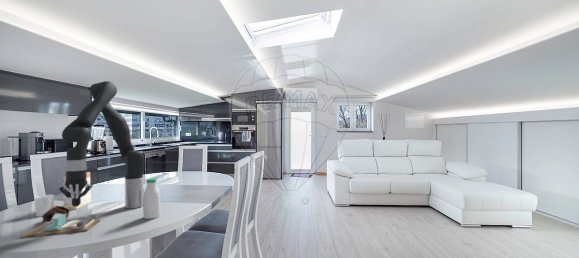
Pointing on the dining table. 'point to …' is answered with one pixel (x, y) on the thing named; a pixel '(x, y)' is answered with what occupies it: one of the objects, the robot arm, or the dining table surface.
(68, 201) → the coffeecake box
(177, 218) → the dining table surface
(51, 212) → the pottery mug
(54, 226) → the stub
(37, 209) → the white cup
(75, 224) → the ticket holder
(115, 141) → the robot arm
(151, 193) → the milk bottle
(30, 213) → the dining table surface
